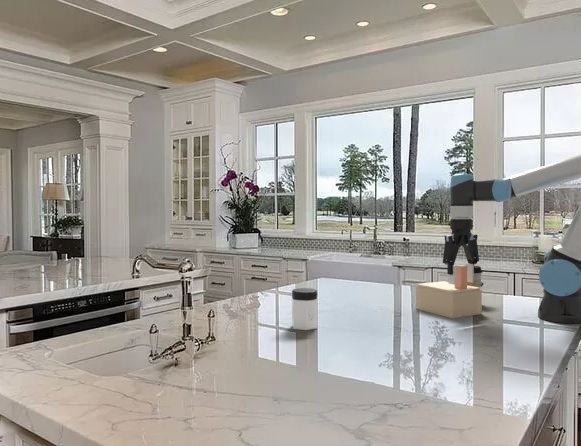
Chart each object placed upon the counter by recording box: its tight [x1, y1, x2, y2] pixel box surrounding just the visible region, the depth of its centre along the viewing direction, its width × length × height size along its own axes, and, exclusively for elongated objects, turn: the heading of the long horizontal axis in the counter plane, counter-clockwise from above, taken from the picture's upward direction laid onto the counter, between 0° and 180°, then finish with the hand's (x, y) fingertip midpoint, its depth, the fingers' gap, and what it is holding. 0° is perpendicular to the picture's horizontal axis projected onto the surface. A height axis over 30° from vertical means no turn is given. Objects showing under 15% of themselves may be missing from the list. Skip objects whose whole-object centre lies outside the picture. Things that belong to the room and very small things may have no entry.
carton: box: [415, 285, 483, 319], centre depth 178 cm, size 18×14×9 cm
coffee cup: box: [465, 264, 483, 289], centre depth 193 cm, size 9×9×15 cm
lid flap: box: [416, 264, 481, 293], centre depth 178 cm, size 17×14×9 cm
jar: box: [291, 287, 319, 331], centre depth 158 cm, size 9×8×12 cm
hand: (460, 282), depth 173 cm, fingers open, 8 cm apart
